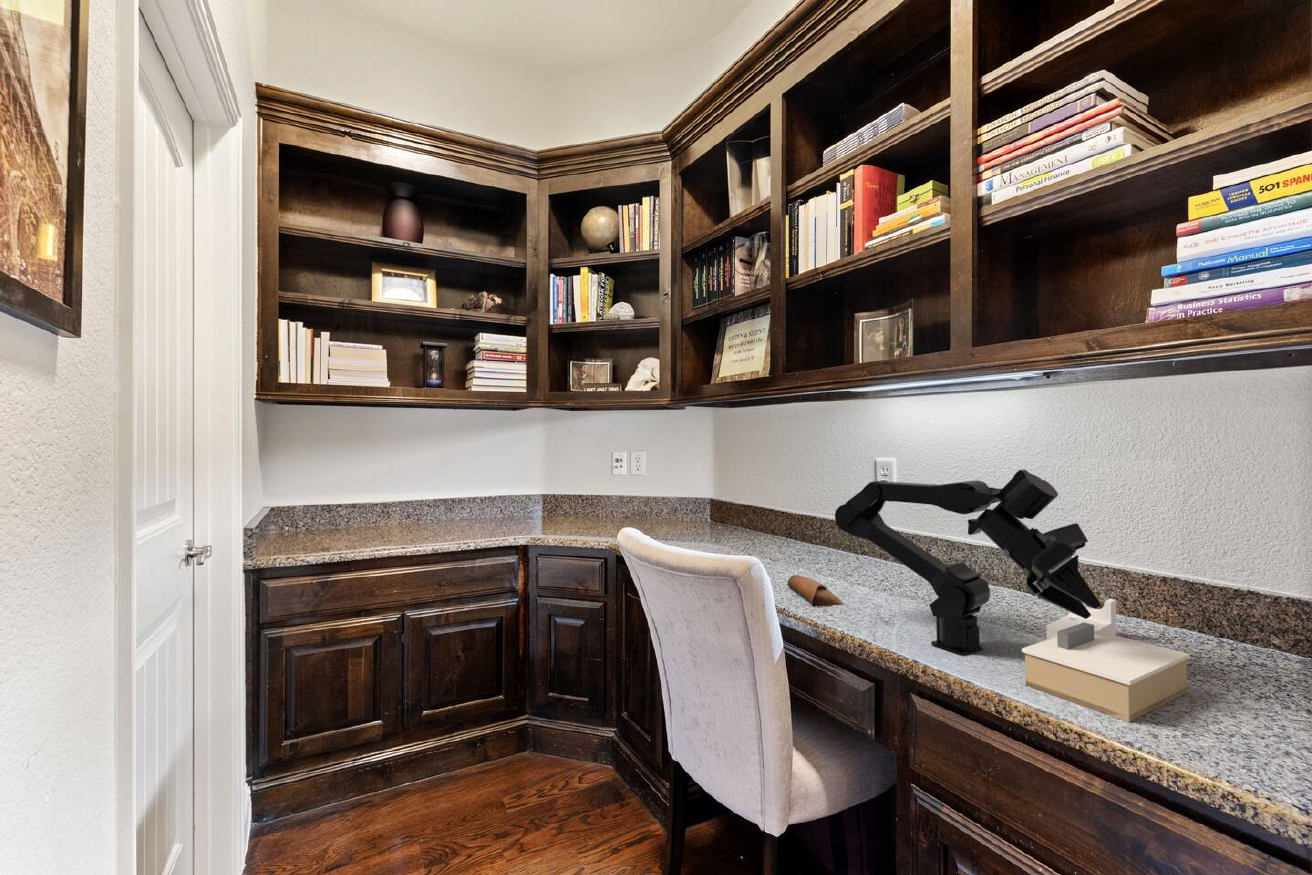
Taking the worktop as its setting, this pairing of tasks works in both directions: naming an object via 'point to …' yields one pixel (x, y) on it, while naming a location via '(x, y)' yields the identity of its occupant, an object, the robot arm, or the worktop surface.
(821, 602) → the sunglasses case
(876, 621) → the worktop surface
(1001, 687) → the worktop surface
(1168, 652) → the lid
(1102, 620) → the bracket
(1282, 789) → the worktop surface
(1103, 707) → the box
